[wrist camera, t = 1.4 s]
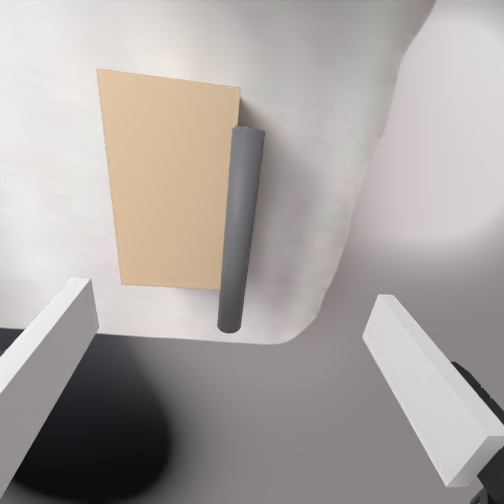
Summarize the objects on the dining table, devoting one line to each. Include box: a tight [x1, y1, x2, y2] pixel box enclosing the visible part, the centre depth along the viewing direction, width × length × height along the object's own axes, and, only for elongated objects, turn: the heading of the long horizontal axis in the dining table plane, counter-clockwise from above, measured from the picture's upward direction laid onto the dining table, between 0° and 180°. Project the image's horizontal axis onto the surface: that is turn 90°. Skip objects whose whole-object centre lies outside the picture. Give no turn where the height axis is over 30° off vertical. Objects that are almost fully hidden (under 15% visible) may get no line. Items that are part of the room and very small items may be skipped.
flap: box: [96, 68, 265, 333], centre depth 22 cm, size 18×12×9 cm, turn 173°
